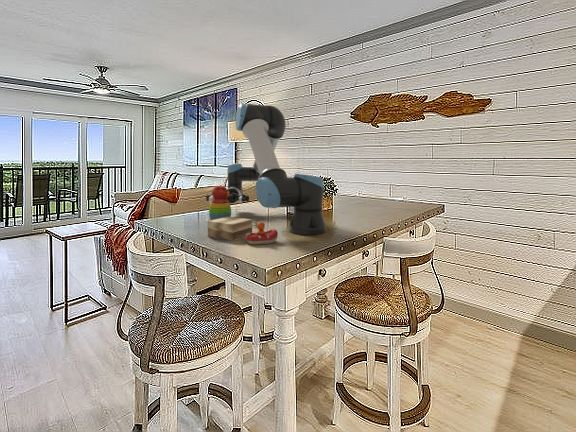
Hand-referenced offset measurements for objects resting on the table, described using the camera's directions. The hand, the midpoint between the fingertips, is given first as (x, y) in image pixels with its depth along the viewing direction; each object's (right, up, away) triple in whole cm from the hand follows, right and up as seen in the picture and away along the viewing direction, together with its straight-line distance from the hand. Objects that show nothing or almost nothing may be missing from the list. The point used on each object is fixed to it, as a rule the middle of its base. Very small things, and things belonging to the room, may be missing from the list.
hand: (224, 200), depth 163 cm
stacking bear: (0, -12, -8) cm, 14 cm away
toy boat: (+19, -17, -34) cm, 42 cm away
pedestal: (+6, -15, -24) cm, 29 cm away
